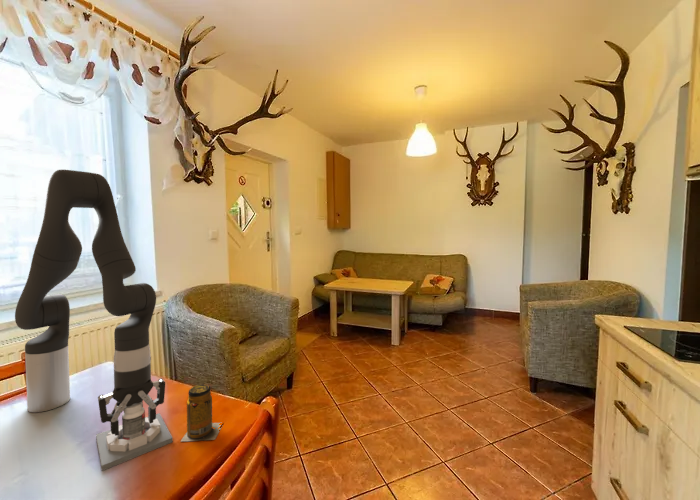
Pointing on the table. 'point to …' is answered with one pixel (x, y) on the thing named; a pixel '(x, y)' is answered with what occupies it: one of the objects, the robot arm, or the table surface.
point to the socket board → (133, 453)
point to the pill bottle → (133, 421)
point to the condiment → (200, 415)
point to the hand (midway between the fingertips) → (134, 427)
